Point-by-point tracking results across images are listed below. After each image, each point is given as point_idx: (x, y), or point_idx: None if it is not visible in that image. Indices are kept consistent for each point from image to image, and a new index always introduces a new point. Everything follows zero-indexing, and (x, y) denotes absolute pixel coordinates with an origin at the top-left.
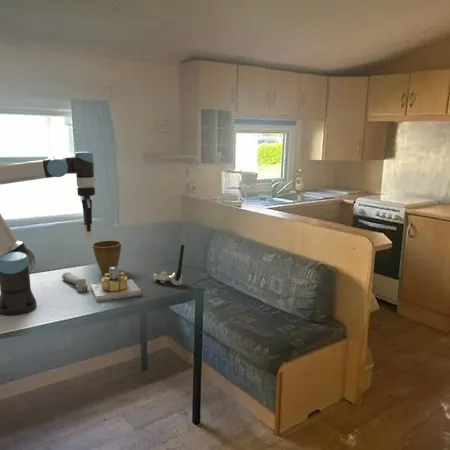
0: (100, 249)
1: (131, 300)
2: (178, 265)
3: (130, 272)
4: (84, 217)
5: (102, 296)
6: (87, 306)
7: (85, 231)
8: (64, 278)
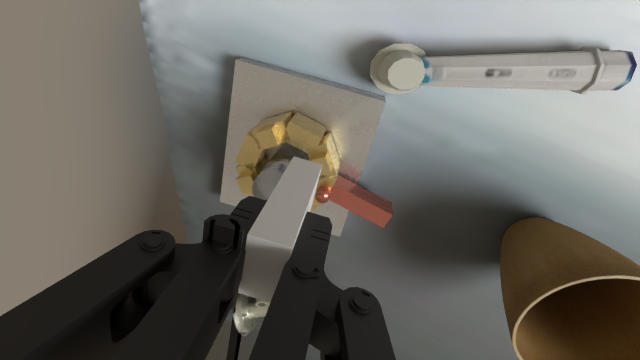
0: (558, 276)
1: (199, 152)
2: (235, 351)
3: (461, 283)
4: (294, 336)
5: (234, 82)
6: (213, 8)
7: (283, 189)
8: (586, 50)
